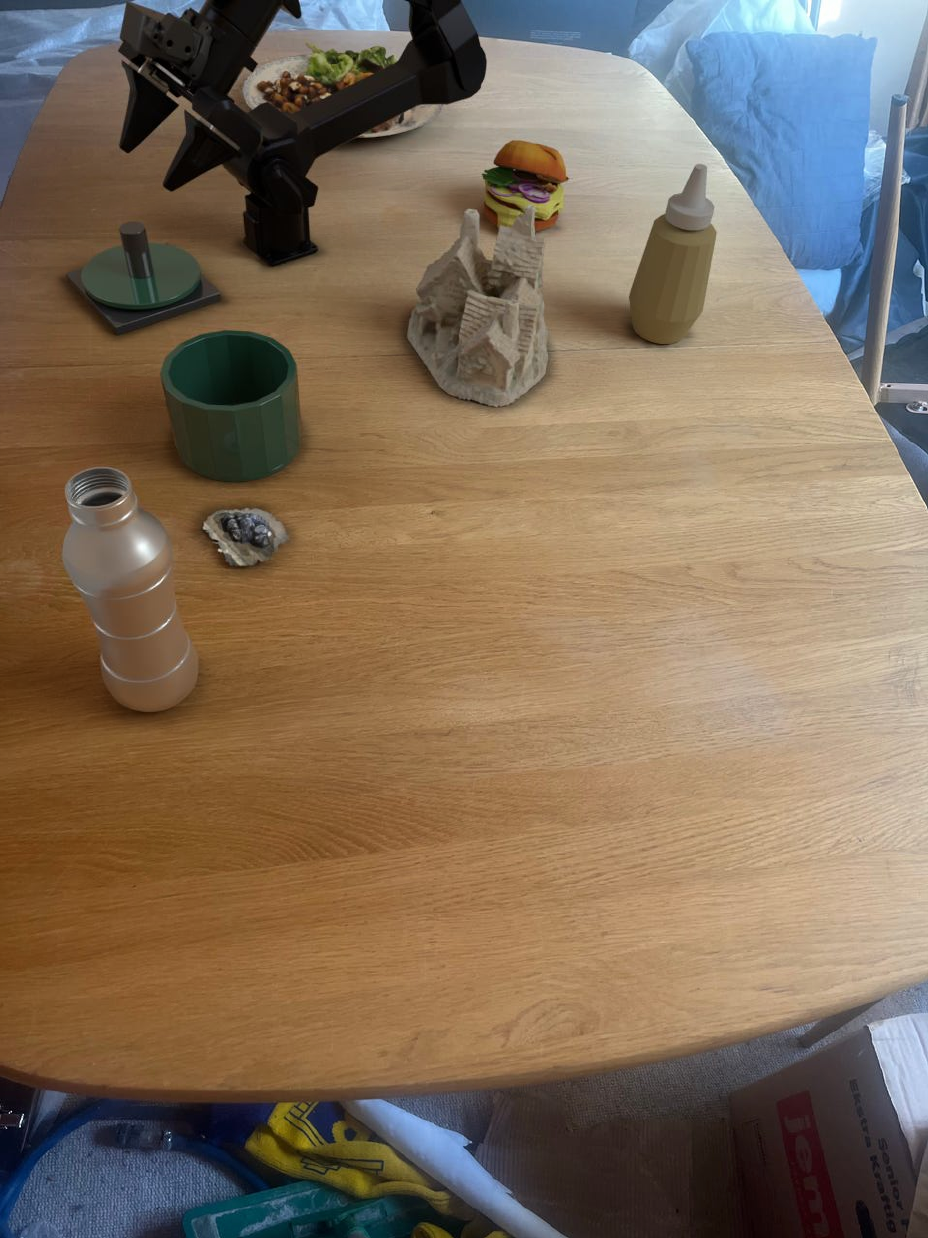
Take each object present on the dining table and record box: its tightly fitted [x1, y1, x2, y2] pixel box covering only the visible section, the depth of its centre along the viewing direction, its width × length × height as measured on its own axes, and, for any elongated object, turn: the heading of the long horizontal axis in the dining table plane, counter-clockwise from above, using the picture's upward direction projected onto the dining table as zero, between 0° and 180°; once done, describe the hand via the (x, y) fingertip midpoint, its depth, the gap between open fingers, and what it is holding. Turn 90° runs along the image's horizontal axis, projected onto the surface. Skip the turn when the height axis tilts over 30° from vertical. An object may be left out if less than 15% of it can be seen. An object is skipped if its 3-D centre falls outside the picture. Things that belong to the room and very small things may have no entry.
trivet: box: [64, 242, 222, 336], centre depth 103 cm, size 12×12×1 cm
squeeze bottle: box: [628, 163, 718, 345], centre depth 99 cm, size 8×8×18 cm
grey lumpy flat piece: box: [202, 507, 291, 567], centre depth 81 cm, size 7×8×2 cm
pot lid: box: [81, 220, 202, 309], centre depth 100 cm, size 12×12×6 cm
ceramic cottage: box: [406, 204, 549, 408], centre depth 95 cm, size 16×16×15 cm
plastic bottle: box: [61, 466, 199, 713], centre depth 63 cm, size 6×7×20 cm
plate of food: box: [241, 41, 445, 138], centre depth 133 cm, size 28×28×6 cm
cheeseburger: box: [481, 139, 570, 232], centre depth 117 cm, size 10×11×10 cm
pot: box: [159, 329, 303, 483], centre depth 86 cm, size 11×11×8 cm
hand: (144, 169), depth 95 cm, fingers open, 9 cm apart
